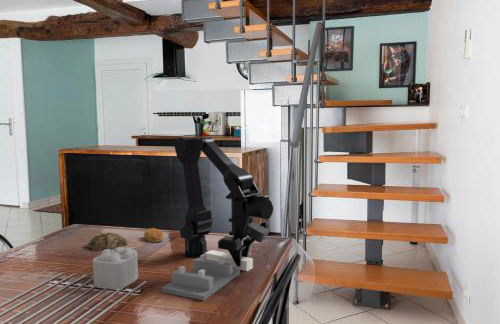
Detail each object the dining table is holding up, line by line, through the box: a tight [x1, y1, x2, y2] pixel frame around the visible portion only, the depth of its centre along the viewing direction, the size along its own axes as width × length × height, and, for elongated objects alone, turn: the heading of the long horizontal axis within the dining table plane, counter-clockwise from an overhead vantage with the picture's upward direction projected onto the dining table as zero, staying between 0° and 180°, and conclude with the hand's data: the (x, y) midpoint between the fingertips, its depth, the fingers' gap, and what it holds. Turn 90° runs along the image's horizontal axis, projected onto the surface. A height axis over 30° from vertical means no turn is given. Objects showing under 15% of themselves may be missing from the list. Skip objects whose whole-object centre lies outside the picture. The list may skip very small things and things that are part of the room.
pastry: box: [143, 227, 164, 244], centre depth 163 cm, size 9×7×4 cm
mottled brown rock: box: [87, 232, 128, 252], centre depth 156 cm, size 13×12×5 cm
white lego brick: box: [92, 247, 139, 290], centre depth 123 cm, size 10×13×9 cm
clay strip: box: [205, 249, 254, 272], centre depth 135 cm, size 16×3×3 cm, turn 57°
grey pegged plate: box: [161, 254, 241, 302], centre depth 121 cm, size 20×13×6 cm, turn 154°
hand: (241, 264), depth 132 cm, fingers closed on clay strip, 4 cm apart
